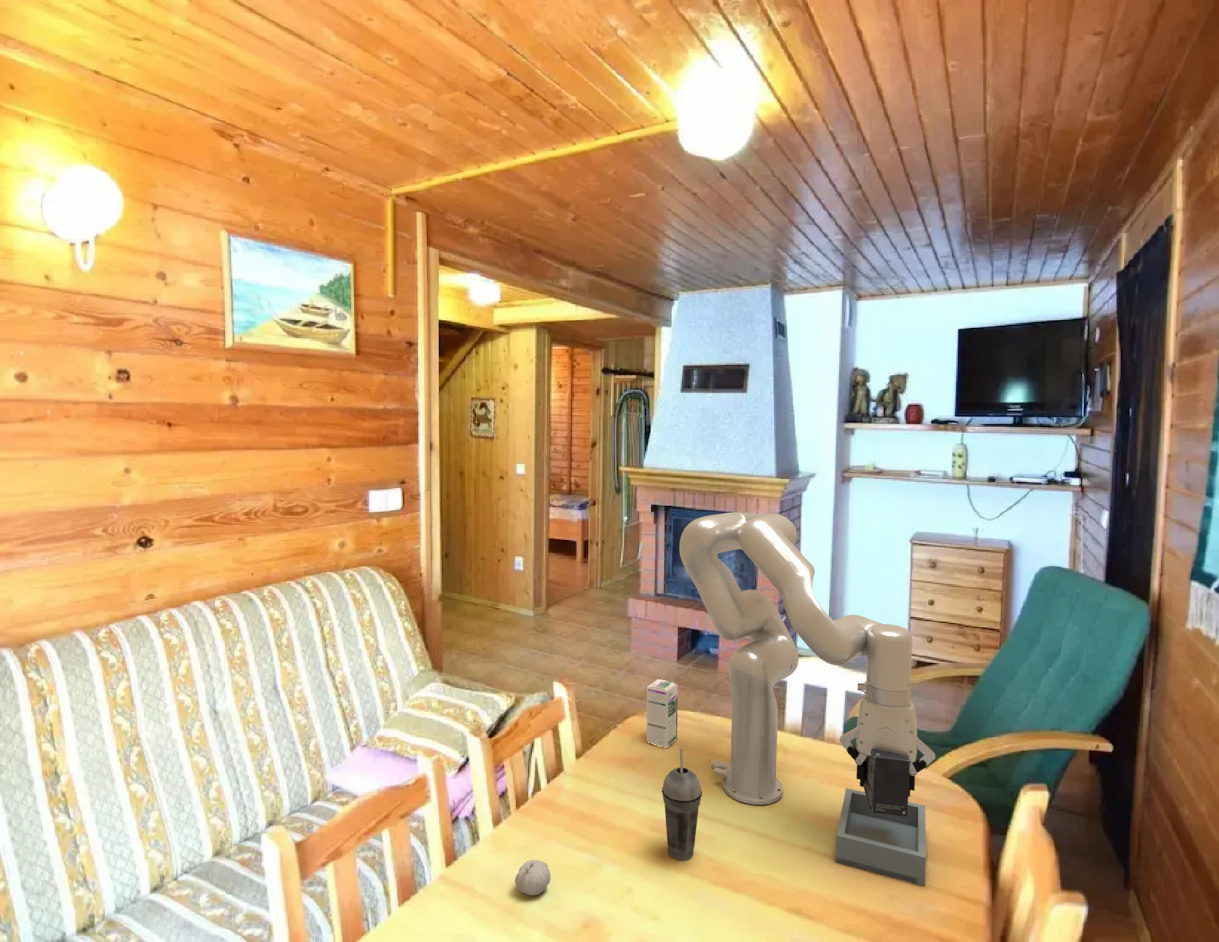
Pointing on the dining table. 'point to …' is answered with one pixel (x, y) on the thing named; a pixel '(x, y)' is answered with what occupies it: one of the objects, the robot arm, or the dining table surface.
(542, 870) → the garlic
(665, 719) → the syrup box
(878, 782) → the small box
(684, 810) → the beverage cup
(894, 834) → the crate
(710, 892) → the dining table surface
